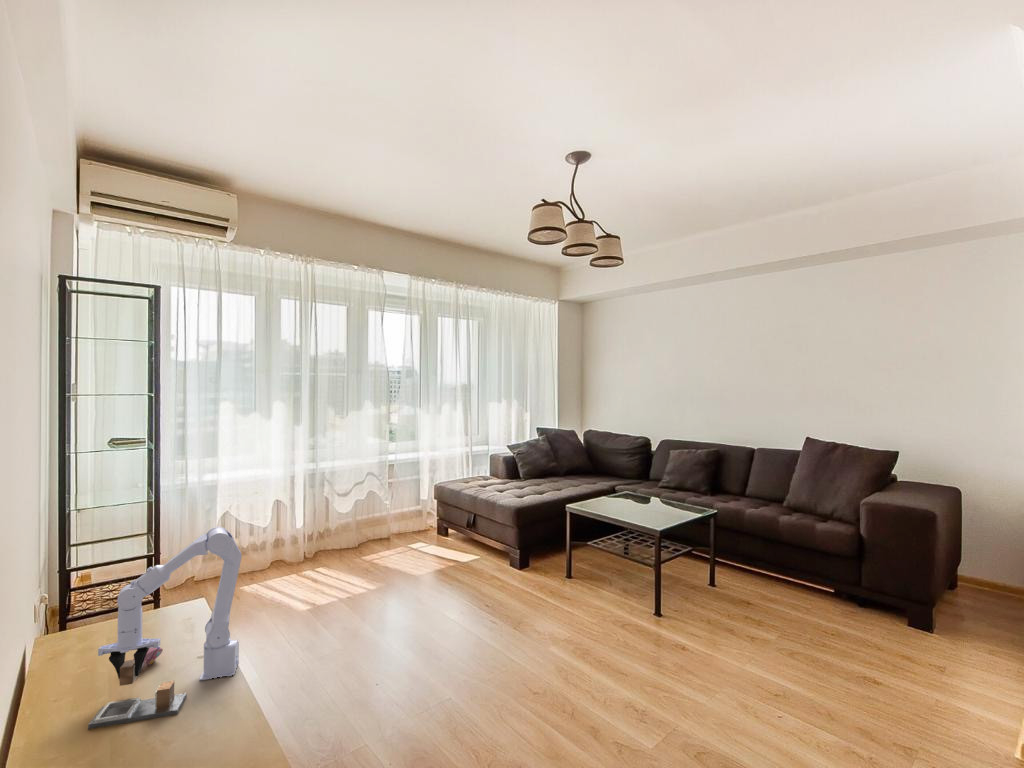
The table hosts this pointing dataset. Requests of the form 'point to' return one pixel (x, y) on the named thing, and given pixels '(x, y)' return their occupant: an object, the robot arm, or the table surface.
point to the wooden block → (127, 673)
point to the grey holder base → (140, 708)
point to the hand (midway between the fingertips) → (129, 675)
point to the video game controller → (151, 656)
